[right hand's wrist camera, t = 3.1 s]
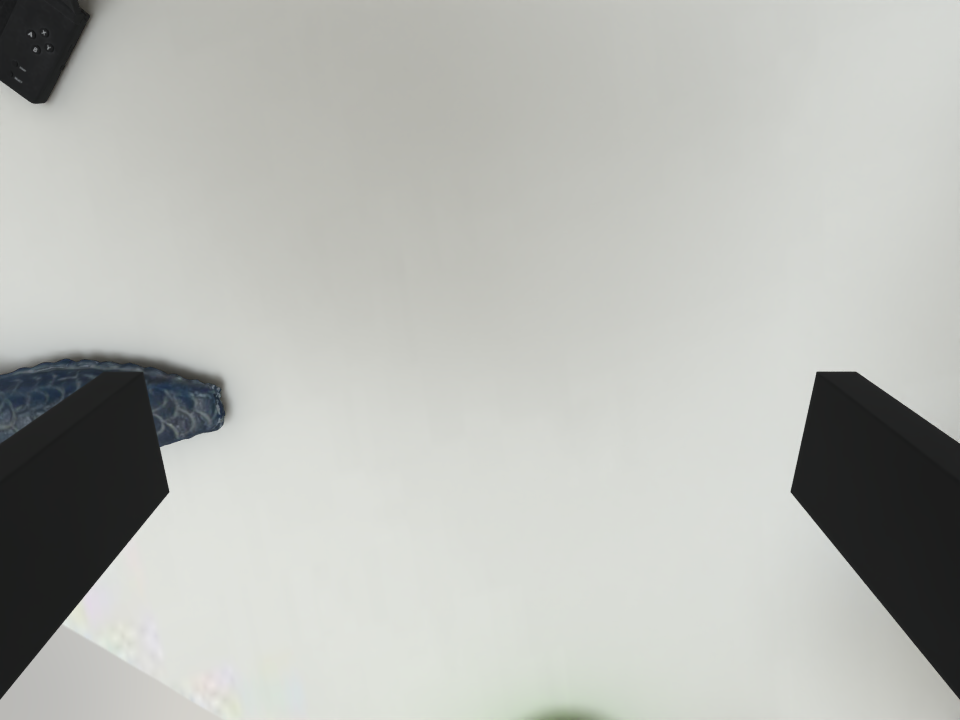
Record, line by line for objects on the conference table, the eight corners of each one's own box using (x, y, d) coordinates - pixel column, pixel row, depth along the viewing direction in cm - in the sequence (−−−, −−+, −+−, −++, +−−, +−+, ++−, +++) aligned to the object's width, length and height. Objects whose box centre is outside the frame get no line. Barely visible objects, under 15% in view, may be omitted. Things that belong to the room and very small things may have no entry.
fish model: (-96, 359, 42) (-167, 391, 37) (217, 346, 42) (185, 376, 37) (-59, 446, 44) (-121, 486, 40) (236, 434, 44) (209, 473, 39)
